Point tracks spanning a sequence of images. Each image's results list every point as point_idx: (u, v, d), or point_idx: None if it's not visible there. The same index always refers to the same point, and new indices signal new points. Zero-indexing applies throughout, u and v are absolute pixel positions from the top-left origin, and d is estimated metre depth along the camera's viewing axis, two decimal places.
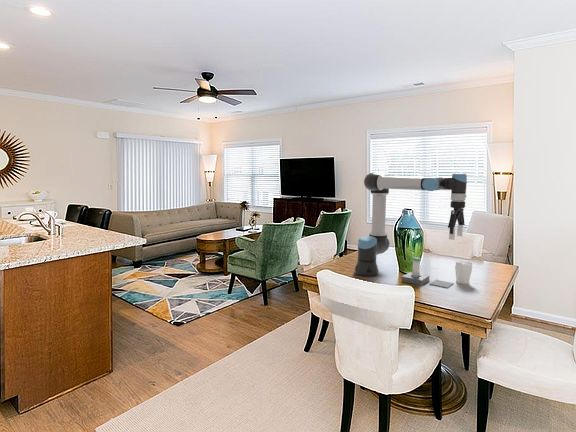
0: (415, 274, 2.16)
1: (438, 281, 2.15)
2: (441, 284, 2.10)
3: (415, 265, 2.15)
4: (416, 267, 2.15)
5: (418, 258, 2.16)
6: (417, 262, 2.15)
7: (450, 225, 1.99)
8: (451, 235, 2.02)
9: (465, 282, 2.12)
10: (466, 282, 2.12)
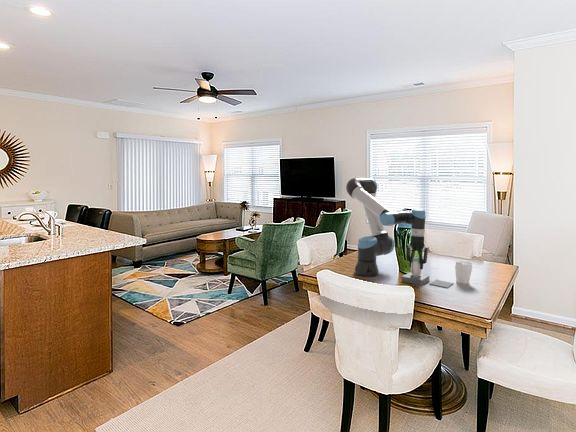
0: (415, 274, 2.16)
1: (438, 281, 2.15)
2: (441, 284, 2.10)
3: (415, 265, 2.15)
4: (416, 267, 2.15)
5: (418, 258, 2.16)
6: (417, 262, 2.15)
7: None
8: None
9: (465, 282, 2.12)
10: (466, 282, 2.12)
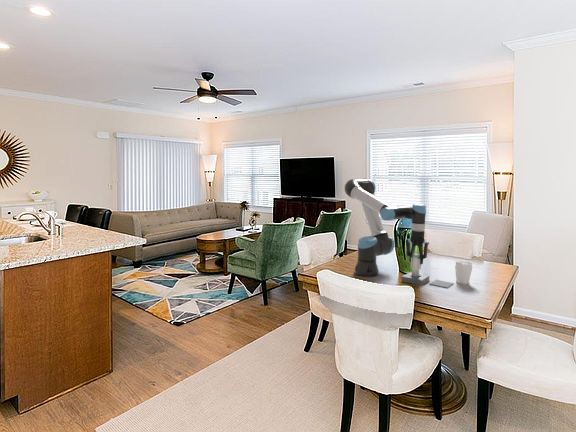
0: (414, 270, 2.16)
1: (438, 281, 2.15)
2: (441, 284, 2.10)
3: (415, 261, 2.15)
4: (416, 263, 2.15)
5: (418, 254, 2.16)
6: (417, 258, 2.15)
7: None
8: None
9: (465, 282, 2.12)
10: (466, 282, 2.12)
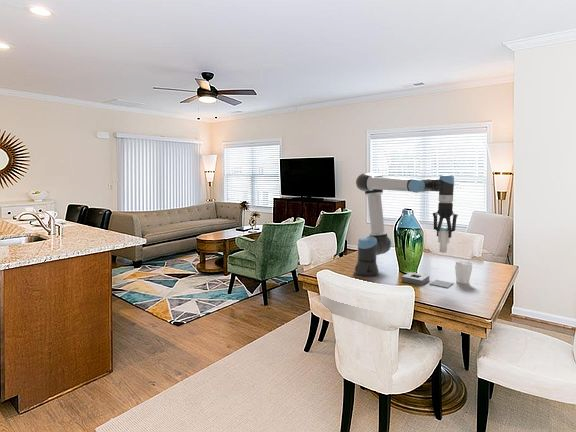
0: (442, 244, 2.07)
1: (438, 281, 2.15)
2: (441, 284, 2.10)
3: (443, 235, 2.06)
4: (444, 237, 2.06)
5: (446, 228, 2.07)
6: (445, 232, 2.06)
7: None
8: None
9: (465, 282, 2.12)
10: (466, 282, 2.12)
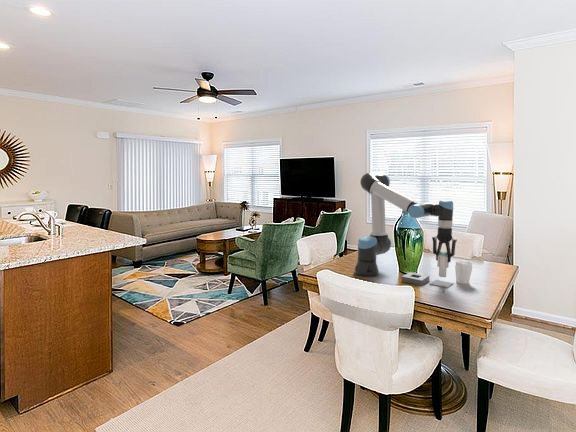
0: (442, 269, 2.09)
1: (438, 281, 2.15)
2: (441, 284, 2.10)
3: (442, 259, 2.08)
4: (443, 262, 2.08)
5: (445, 252, 2.09)
6: (444, 256, 2.08)
7: None
8: None
9: (465, 282, 2.12)
10: (466, 282, 2.12)
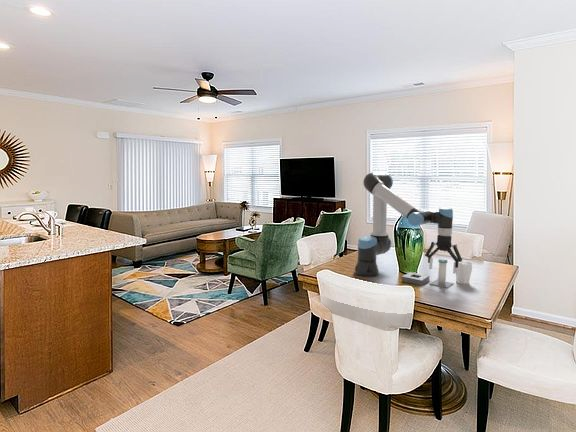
0: (441, 276, 2.09)
1: None
2: (441, 284, 2.10)
3: (441, 267, 2.09)
4: (442, 269, 2.09)
5: (444, 260, 2.09)
6: (443, 264, 2.08)
7: None
8: None
9: (465, 282, 2.12)
10: (466, 282, 2.12)
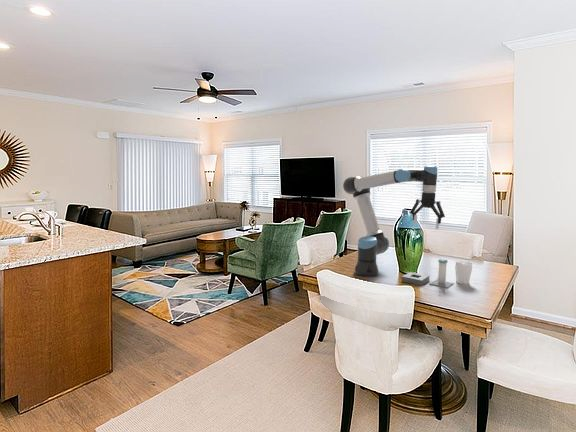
0: (441, 276, 2.09)
1: None
2: (441, 284, 2.10)
3: (441, 267, 2.09)
4: (442, 269, 2.09)
5: (444, 260, 2.09)
6: (443, 264, 2.08)
7: None
8: None
9: (465, 282, 2.12)
10: (466, 282, 2.12)
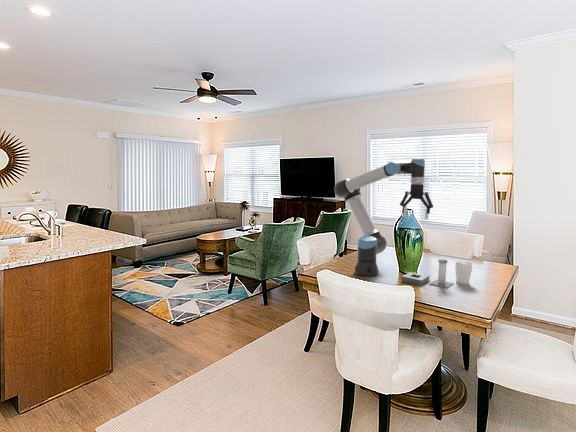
0: (441, 276, 2.09)
1: None
2: (441, 284, 2.10)
3: (441, 267, 2.09)
4: (442, 269, 2.09)
5: (444, 260, 2.09)
6: (443, 264, 2.08)
7: None
8: None
9: (465, 282, 2.12)
10: (466, 282, 2.12)
